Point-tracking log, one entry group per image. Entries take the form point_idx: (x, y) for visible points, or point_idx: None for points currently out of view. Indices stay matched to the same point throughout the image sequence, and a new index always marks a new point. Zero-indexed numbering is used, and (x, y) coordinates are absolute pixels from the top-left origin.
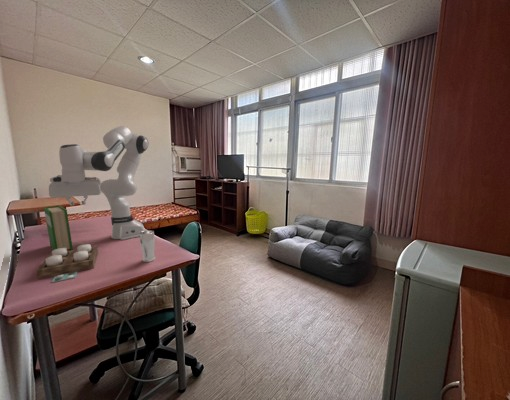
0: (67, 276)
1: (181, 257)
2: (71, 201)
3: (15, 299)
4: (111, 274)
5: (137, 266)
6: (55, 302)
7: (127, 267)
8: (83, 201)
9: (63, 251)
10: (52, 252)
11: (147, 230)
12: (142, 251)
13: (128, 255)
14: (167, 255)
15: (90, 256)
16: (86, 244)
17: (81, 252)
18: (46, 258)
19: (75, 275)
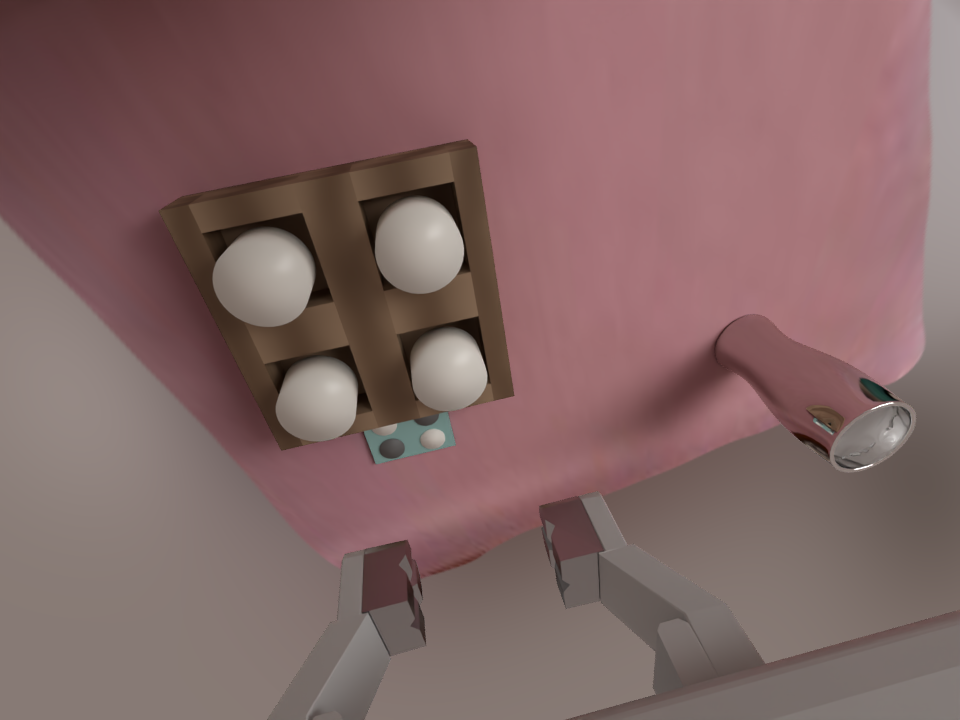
0: (421, 438)
1: (869, 356)
2: (372, 637)
3: (319, 535)
4: (588, 442)
5: (685, 398)
6: (458, 560)
7: (646, 398)
8: (600, 596)
9: (305, 304)
10: (238, 317)
11: (893, 404)
12: (751, 382)
13: (657, 252)
14: (830, 315)
15: (485, 340)
16: (423, 214)
17: (451, 374)
18: (281, 419)
19: (450, 432)
